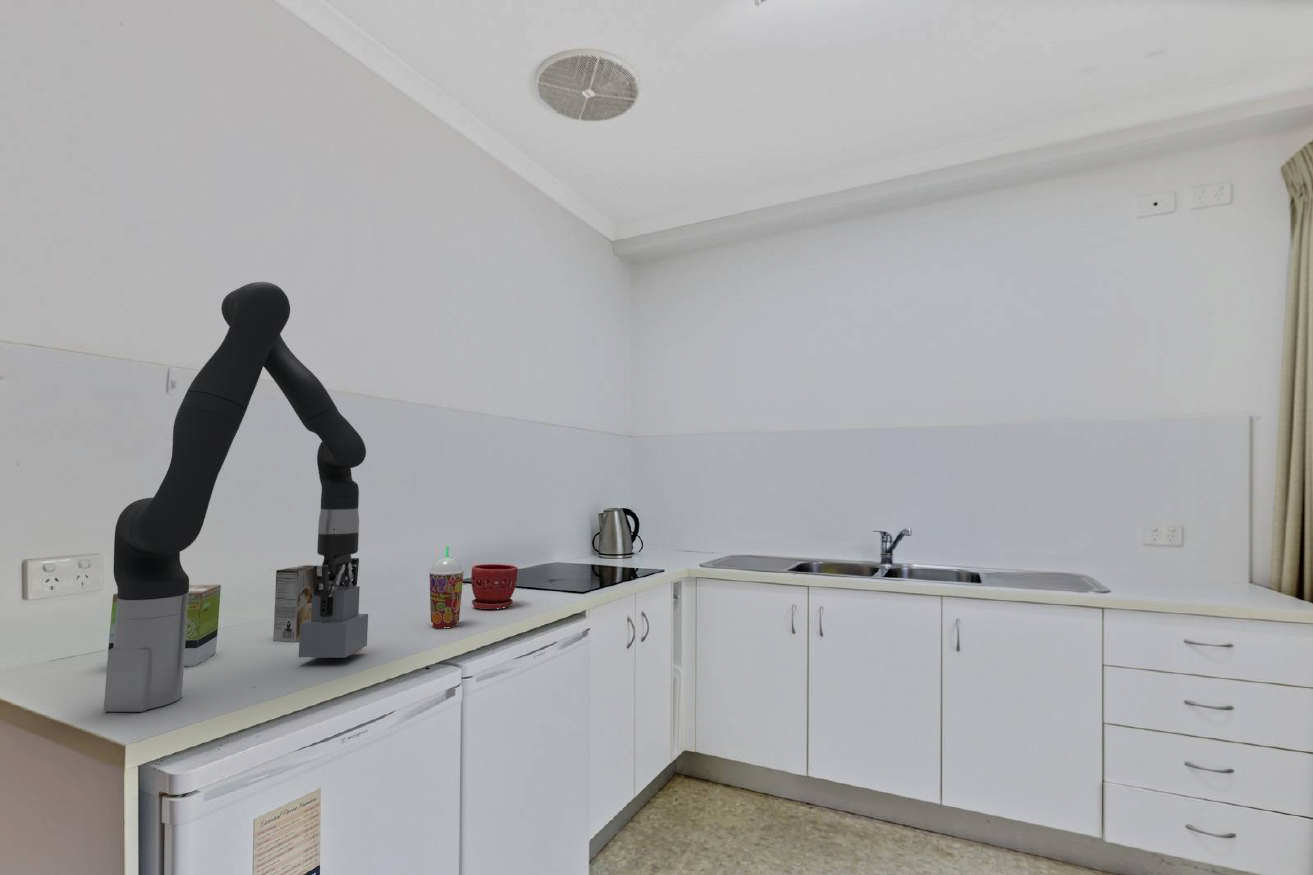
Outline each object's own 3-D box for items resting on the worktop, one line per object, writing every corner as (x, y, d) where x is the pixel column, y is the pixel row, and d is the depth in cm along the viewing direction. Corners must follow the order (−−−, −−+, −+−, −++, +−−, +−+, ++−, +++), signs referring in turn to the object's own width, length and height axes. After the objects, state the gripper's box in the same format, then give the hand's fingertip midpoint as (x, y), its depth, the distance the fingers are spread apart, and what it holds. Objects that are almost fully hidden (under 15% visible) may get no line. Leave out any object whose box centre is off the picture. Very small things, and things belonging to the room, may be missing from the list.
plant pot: (483, 613, 173) (484, 570, 174) (462, 606, 183) (463, 565, 184) (524, 607, 182) (525, 566, 183) (502, 601, 192) (503, 562, 193)
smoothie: (420, 628, 154) (423, 547, 156) (439, 621, 162) (442, 544, 164) (450, 631, 152) (453, 548, 154) (468, 623, 160) (470, 545, 162)
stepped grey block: (345, 657, 122) (347, 592, 123) (298, 657, 122) (301, 592, 123) (366, 645, 132) (369, 585, 133) (323, 645, 132) (326, 584, 133)
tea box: (104, 672, 117) (110, 593, 118) (133, 658, 127) (138, 584, 128) (196, 667, 121) (201, 590, 123) (217, 653, 131) (222, 582, 132)
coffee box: (302, 631, 150) (305, 564, 152) (325, 633, 149) (328, 565, 150) (271, 641, 141) (275, 569, 143) (295, 642, 140) (299, 570, 141)
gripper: (338, 533, 122) (335, 620, 120) (372, 528, 136) (369, 606, 135) (300, 533, 122) (296, 620, 120) (338, 528, 136) (335, 605, 135)
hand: (335, 612), depth 128 cm, fingers closed on stepped grey block, 6 cm apart
